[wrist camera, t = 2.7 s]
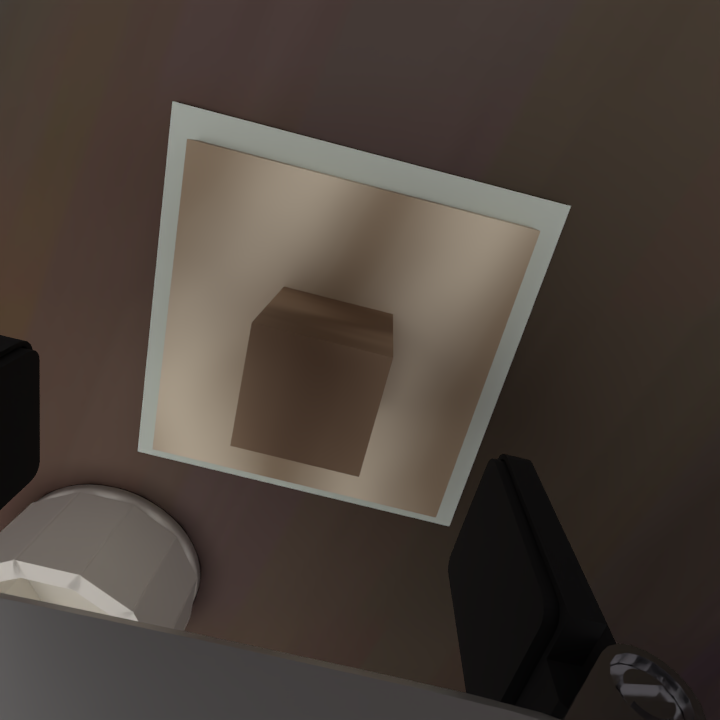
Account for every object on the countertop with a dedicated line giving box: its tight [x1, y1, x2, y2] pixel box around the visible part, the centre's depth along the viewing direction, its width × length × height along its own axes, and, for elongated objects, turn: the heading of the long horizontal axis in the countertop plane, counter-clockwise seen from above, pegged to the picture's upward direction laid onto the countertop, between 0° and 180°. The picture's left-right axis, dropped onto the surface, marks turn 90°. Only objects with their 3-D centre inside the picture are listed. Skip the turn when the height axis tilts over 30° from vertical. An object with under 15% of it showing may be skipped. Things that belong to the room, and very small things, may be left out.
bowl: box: [0, 484, 200, 631], centre depth 23 cm, size 9×9×5 cm
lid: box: [153, 139, 540, 518], centre depth 17 cm, size 12×12×6 cm
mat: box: [138, 101, 571, 526], centre depth 20 cm, size 14×14×1 cm
